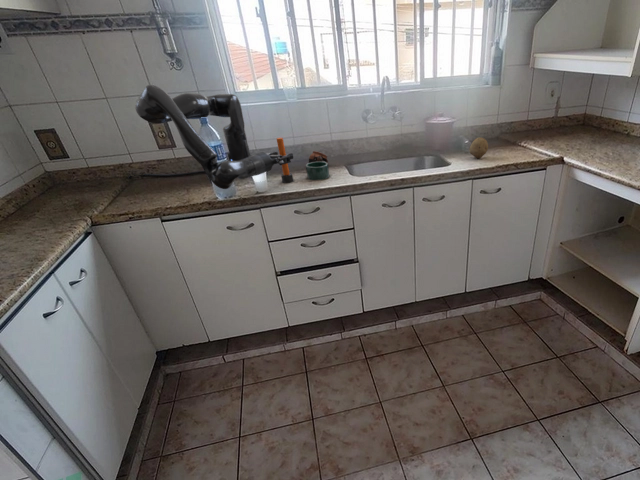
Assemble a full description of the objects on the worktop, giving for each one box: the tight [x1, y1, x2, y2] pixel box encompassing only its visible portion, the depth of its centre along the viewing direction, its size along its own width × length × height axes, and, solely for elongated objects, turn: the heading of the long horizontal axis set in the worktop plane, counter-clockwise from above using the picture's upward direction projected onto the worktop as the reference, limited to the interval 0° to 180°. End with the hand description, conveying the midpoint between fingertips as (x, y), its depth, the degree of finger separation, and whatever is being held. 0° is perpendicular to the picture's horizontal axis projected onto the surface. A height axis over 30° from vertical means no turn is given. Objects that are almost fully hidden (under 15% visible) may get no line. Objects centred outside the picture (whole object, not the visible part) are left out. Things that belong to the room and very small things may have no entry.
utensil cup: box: [305, 161, 330, 181], centre depth 173 cm, size 10×10×6 cm
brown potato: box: [468, 137, 489, 159], centre depth 190 cm, size 9×9×10 cm
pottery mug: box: [307, 150, 329, 164], centre depth 187 cm, size 12×10×8 cm
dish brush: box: [276, 137, 294, 184], centre depth 166 cm, size 5×5×18 cm
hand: (284, 154), depth 165 cm, fingers open, 8 cm apart
